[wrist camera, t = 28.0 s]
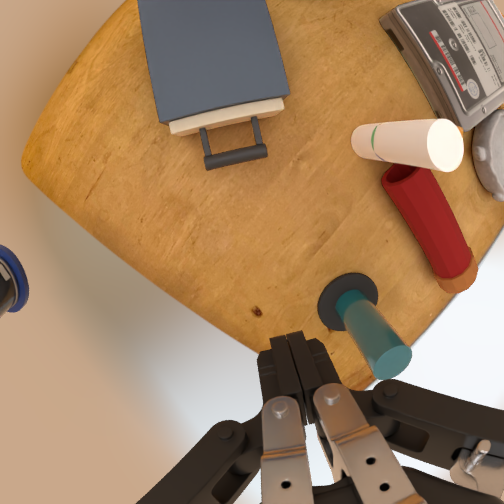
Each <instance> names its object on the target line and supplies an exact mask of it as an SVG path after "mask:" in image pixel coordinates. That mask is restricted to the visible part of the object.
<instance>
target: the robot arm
mask: <svg viewBox="0 0 504 504" xmlns="http://www.w3.org/2000/svg"><path fill="white" fill-rule="evenodd" d="M19 294H20V290H19V284H18V280H17V277H16V275H15V273H14V271H13V269H12V267H11V266H10V265H9V263H8V262H7V261H6V260H5V259H4V258H2V257H1V256H0V318H1V316H3V315H4V314H5V313H6V312H7V311H8V310H9V309H10V308H12V307H13V306H14V305H15V304H16V303H17V301H18V299H19ZM286 337H287V339H286ZM269 339H270V343H271V348H272V349H270V350H265V351H261V352H260V354H259V356H258V359H257V365H258V371H259V378H260V384H261V391H262V396H263V407H262V409H261V411H260V412H259V414H258V415H256V416H255V417H254V418H252V419H250V420H248V421H246V422H244V423H239V422H237V421H233V420H225V421H221V422H219V423H217V424H215V425H214V426H213V427H212V428H211V429H210V430H209V431H208V432H207V433H206V434H205V435H204V436H203V437H202V439H201V440H200V441H199V442H198V443H197V444H196V445H195V446H194V447H193V448H192V449H191V450H190V451H189V452H188V453H187V454H186V455H185V456H184V457H183V458H182V459H181V460H180V462H179V463H178V464H177V465H176V466H175V467H174V468H173V469H172V470H171V471H170V472H169V473H168V474H166V475H165V476H164V478H162V479H161V481H159V482H158V483H157V484H156V485H155V486H154V487H153V488H152V489H151V490H150V491H149V492H148V493H147V494H146V495H145V496H143V497H142V498H141V499H140V500H139V501H138V502H137V503H136V504H233V503H234V502H235V501H236V499H237V498H238V497H239V496H240V495H241V493H242V492H243V490H245V488H246V487H247V486H248V484H249V483H250V482H251V481H252V479H253V478H254V477H255V476H256V474H257V473H258V471H259V469H260V468H261V494H262V502H261V503H260V504H504V502H503V501H502V500H501V499H500V498H501V495H502V493H503V490H504V410H500V409H495V408H491V407H488V406H483V405H479V404H476V403H472V402H468V401H465V400H461V399H458V398H454V397H451V396H447V395H444V394H440V393H437V392H434V391H431V390H427V389H424V388H421V387H418V386H414V385H412V384H408V383H405V382H402V381H399V380H395V379H387V380H383V381H381V382H379V383H378V384H377V385H376V386H375V387H374V389H373V390H366V391H355V390H351V389H348V388H347V387H346V386H344V385H343V384H342V383H341V381H340V379H339V376H338V374H337V372H336V370H335V368H334V366H333V363H332V361H331V359H330V357H329V355H328V353H327V350H326V348H325V346H324V344H323V343H322V342H320V341H319V340H318V339H316V338H314V339H310V340H307V341H306V339H305V337H304V334H303V332H302V330H301V331H297V332H293V333H289V334H286V336H285V335H281V336H277V337H273V338H269ZM287 342H288V343H287ZM306 416H307V419H308V422H309V424H312V423H315V426H316V430H317V437H318V440H319V442H320V444H321V447H322V449H323V452H324V454H325V457H326V459H327V462H328V464H329V466H330V469H331V471H332V474H333V478H334V482H335V483H334V484H331V485H327V486H312V481H311V475H310V468H309V462H308V455H307V449H306V443H305V440H306V433H305V427H304V426H306V425H307V419H306ZM391 449H392V450H394V451H397V452H399V453H402V454H404V455H407V456H410V457H412V458H415V459H418V460H420V461H423V462H426V463H429V464H432V465H435V466H438V467H441V468H444V469H447V470H450V476H451V479H452V480H453V481H454V483H456V484H454V483H451V482H448V481H446V480H443V479H440V478H437V477H435V476H432V475H430V474H427V473H425V472H422V471H419V470H417V469H414V468H411V467H406V466H400V464H399V462H398V460H397V459H396V457H395V455H394V454H393V452H392V450H391ZM457 484H458V485H457Z"/></svg>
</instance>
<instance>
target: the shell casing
mask: <svg viewBox="0 0 504 504" xmlns="http://www.w3.org/2000/svg"><path fill="white" fill-rule="evenodd" d="M381 181H382V186H383V187H384V189H385V190H386V192H387V193H388V194H389V196H390V197H391V199H392V200H393V202H394V204H395V205H396V207H397V208H398V210H399V211H400V213H401V214H402V216H403V218H404V219H405V221H406V222H407V224H408V226H409V227H410V229H411V231H412V232H413V234H414V236H415V237H416V239H417V241H418V242H419V244H420V246H421V248H422V249H423V251H424V253H425V255H426V257H427V258H428V260H429V262H430V264H431V266H432V269H433V273H434V276H435V278H436V280H437V282H438V284H439V286H440V288H442V289H443V290H444V291H446V292H447V293H460V292H462V291H464V290H467V289H468V288H469V287H470V286H471V285H472V284H473V283H474V281H475V279H476V276H477V272H478V267H477V264H476V261H475V258H474V256H473V253H472V251H471V248H470V247H468V246H467V244H466V241H465V239H464V237H463V234H462V232H461V230H460V228H459V225H458V223H457V221H456V219H455V217H454V214H453V212H452V210H451V208H450V206H449V204H448V202H447V200H446V198H445V196H444V194H443V192H442V190H441V188H440V187H439V185H438V183H437V181H436V179H435V177H434V176H433V174H432V172H431V170H430V169H428V168H423V167H417V166H412V165H406V164H400V163H395V164H393V165H392V166H391V167H390V168H389V169H388V170H387V171H386V172H385V174H384V176H383V177H382V179H381Z"/></svg>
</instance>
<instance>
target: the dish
mask: <svg viewBox="0 0 504 504" xmlns="http://www.w3.org/2000/svg"><path fill="white" fill-rule="evenodd" d="M472 154H473V161H474V165H475V169H476V172H477V175H478V177H479V179H480V181H481V183H482V185H483V186H484V188H485V189H486V190H487V191H489V192H491V193H492V197H493V199H495V200H496V201H500V202H503V201H504V109H496V110H494V111H493V112H492V113H490V114H489V115H488V116H487V117H486V118H484V119H483V120H482V121H481V122H479V123H478V124H477V125H476V127H475V131H474V136H473V143H472Z"/></svg>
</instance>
